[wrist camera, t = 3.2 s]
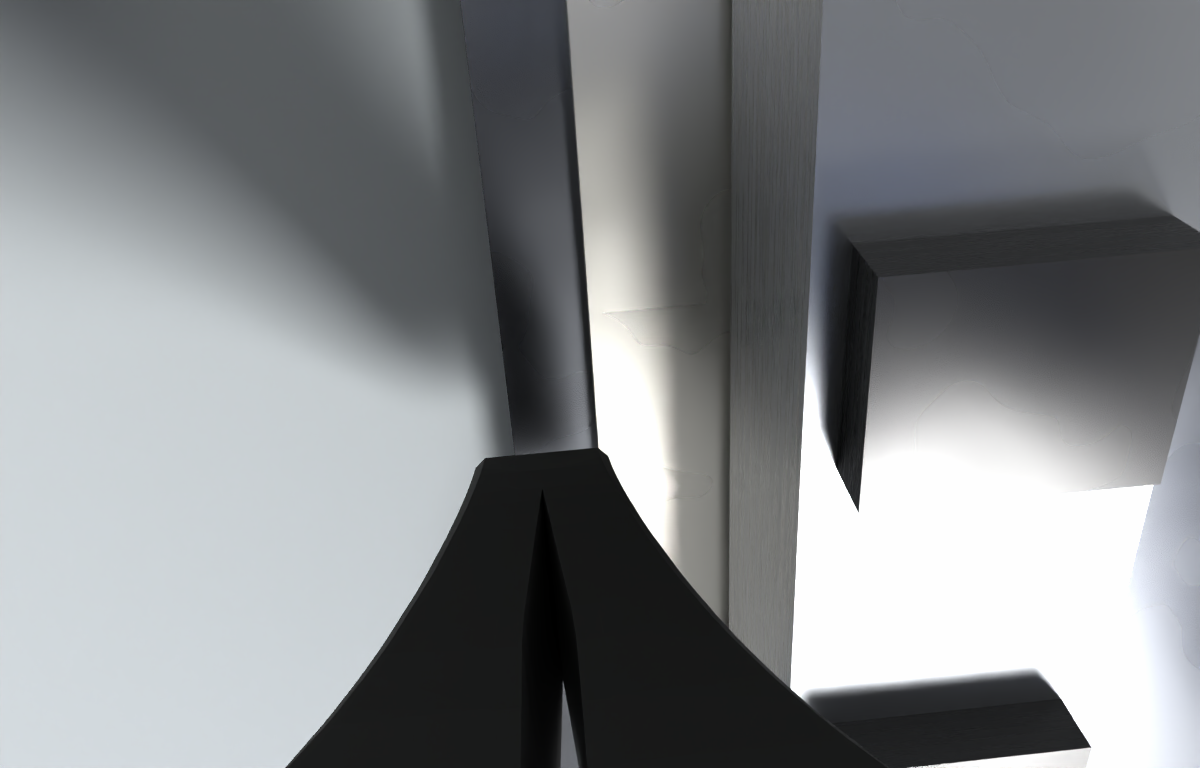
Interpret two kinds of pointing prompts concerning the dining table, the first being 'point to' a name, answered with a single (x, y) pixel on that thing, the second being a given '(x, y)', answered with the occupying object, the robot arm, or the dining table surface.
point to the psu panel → (717, 319)
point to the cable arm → (954, 352)
